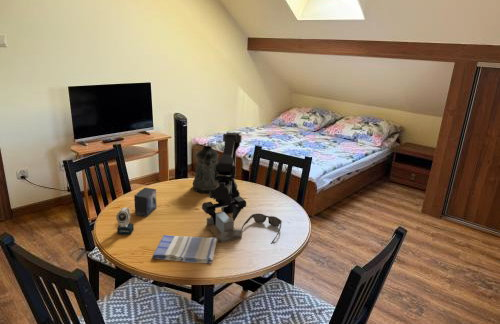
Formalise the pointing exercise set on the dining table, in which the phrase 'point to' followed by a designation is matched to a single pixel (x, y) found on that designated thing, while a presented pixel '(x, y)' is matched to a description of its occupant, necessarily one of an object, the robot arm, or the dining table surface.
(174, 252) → the dish towel
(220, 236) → the cradle
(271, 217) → the sunglasses
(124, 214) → the watch
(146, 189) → the small box
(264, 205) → the dining table surface
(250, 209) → the dining table surface
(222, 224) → the light blue rectangular block
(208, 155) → the beer stein
